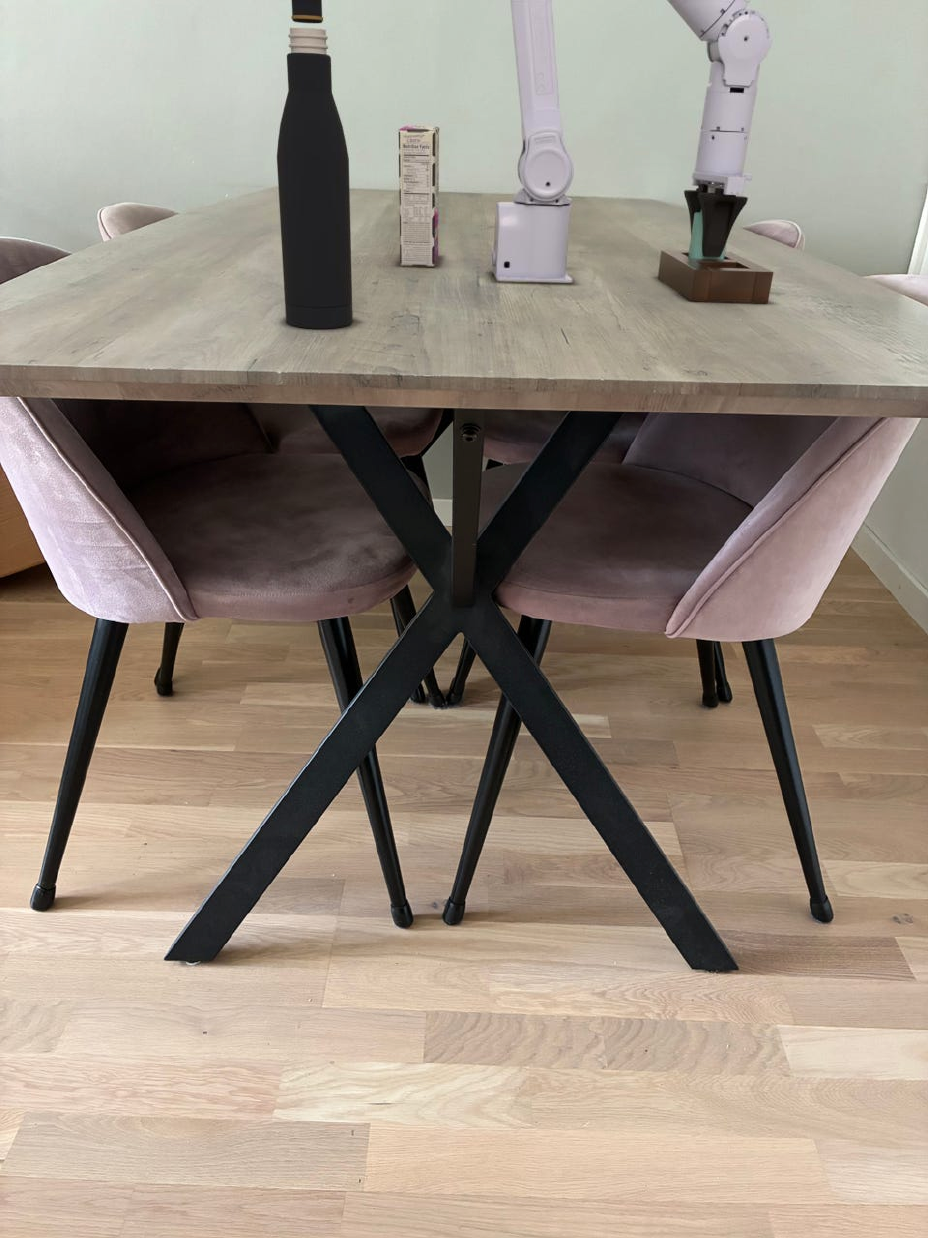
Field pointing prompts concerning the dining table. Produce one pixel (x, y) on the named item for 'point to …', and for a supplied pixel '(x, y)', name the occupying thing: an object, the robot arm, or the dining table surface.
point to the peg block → (715, 278)
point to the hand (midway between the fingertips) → (706, 253)
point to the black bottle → (313, 184)
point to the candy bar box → (419, 195)
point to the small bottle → (700, 236)
